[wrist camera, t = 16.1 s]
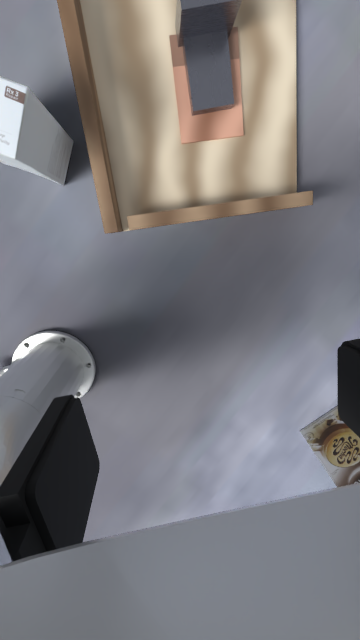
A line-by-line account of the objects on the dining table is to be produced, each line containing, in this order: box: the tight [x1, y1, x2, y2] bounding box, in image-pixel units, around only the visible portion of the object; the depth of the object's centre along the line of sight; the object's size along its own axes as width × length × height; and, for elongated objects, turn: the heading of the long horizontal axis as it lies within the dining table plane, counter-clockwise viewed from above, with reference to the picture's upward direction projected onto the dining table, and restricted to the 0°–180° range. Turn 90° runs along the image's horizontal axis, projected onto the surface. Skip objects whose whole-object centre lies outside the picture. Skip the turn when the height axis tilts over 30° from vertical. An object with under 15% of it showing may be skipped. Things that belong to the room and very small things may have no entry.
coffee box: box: [300, 406, 360, 487], centre depth 45 cm, size 9×6×16 cm
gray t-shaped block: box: [175, 0, 242, 116], centre depth 31 cm, size 9×6×6 cm, turn 10°
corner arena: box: [57, 0, 313, 233], centre depth 34 cm, size 26×26×6 cm
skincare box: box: [0, 76, 74, 185], centre depth 30 cm, size 8×6×15 cm
